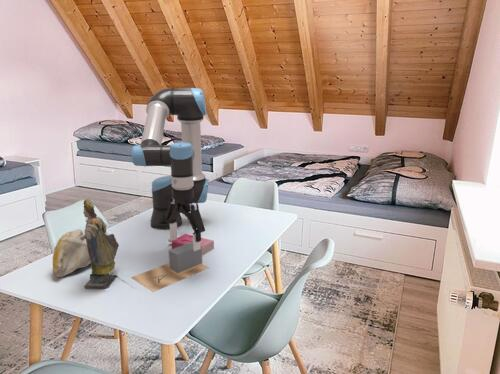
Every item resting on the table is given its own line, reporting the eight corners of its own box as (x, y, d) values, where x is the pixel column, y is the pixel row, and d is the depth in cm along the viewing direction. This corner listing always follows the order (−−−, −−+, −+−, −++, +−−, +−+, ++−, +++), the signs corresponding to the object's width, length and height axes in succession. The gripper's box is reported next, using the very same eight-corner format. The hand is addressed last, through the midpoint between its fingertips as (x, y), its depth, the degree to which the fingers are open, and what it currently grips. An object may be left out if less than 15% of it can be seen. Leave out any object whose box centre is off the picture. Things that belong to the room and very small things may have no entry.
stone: (123, 255, 156) (70, 268, 133) (100, 269, 161) (46, 284, 138) (108, 221, 158) (54, 229, 136) (86, 236, 163) (31, 246, 141)
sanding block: (193, 261, 150) (193, 241, 148) (202, 265, 147) (201, 245, 145) (169, 270, 143) (168, 250, 140) (178, 275, 139) (177, 254, 137)
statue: (95, 269, 146) (86, 191, 138) (123, 269, 145) (116, 191, 137) (76, 290, 131) (65, 204, 123) (108, 290, 131) (99, 204, 123)
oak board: (186, 258, 154) (186, 256, 154) (209, 270, 145) (209, 267, 145) (131, 280, 138) (130, 277, 137) (153, 294, 128) (153, 291, 128)
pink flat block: (176, 231, 171) (213, 240, 161) (176, 241, 172) (214, 251, 162) (161, 238, 163) (200, 248, 153) (162, 249, 164) (200, 259, 155)
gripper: (153, 183, 142) (156, 238, 148) (196, 196, 126) (198, 257, 131) (170, 180, 148) (173, 233, 153) (214, 191, 131) (215, 251, 136)
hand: (185, 244), depth 142 cm, fingers open, 13 cm apart
